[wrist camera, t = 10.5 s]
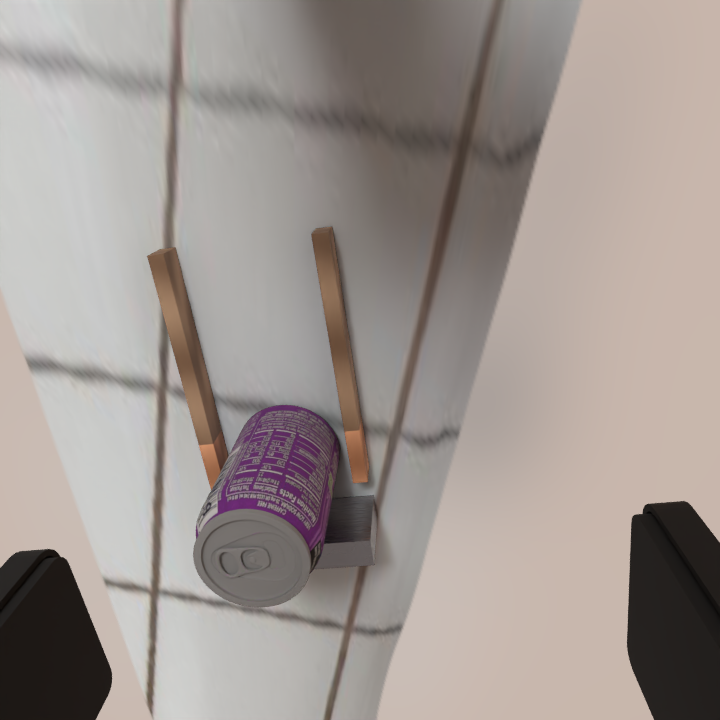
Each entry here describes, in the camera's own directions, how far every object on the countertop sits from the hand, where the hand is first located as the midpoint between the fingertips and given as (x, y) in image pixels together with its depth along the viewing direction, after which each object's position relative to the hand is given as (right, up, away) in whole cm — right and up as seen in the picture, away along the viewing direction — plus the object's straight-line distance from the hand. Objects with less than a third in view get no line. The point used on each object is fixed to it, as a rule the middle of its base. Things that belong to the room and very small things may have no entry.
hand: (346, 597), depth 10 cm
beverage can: (-5, -2, +32) cm, 32 cm away
